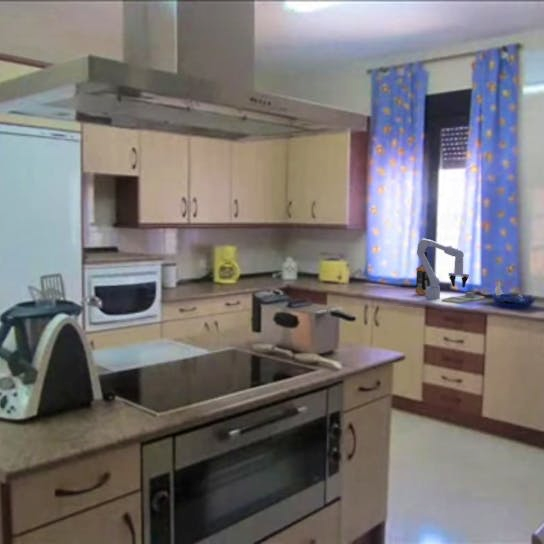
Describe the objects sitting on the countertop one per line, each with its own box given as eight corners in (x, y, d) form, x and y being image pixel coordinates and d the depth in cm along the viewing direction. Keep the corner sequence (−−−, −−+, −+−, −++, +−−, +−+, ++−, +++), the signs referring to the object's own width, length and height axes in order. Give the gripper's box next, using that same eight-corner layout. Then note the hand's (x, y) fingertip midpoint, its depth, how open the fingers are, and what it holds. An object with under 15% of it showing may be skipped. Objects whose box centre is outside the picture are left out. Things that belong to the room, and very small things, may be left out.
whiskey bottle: (433, 294, 448) (434, 251, 445) (422, 295, 445) (423, 252, 441) (425, 292, 458) (426, 250, 454) (414, 293, 454) (415, 251, 451)
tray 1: (441, 302, 413) (441, 299, 413) (451, 300, 423) (451, 296, 423) (460, 304, 403) (460, 301, 403) (470, 302, 413) (470, 298, 413)
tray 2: (456, 300, 421) (456, 296, 421) (465, 298, 431) (465, 294, 430) (474, 302, 411) (474, 299, 411) (484, 300, 421) (484, 296, 421)
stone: (465, 299, 421) (465, 292, 420) (468, 298, 424) (468, 291, 423) (471, 299, 417) (471, 293, 417) (474, 298, 421) (474, 292, 420)
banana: (521, 304, 402) (522, 282, 400) (493, 301, 414) (494, 280, 412) (524, 303, 405) (525, 281, 404) (496, 300, 417) (496, 279, 416)
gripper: (446, 267, 423) (446, 286, 424) (465, 268, 413) (465, 288, 414) (451, 266, 428) (451, 285, 429) (470, 267, 417) (470, 287, 419)
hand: (458, 286), depth 422 cm, fingers open, 7 cm apart
